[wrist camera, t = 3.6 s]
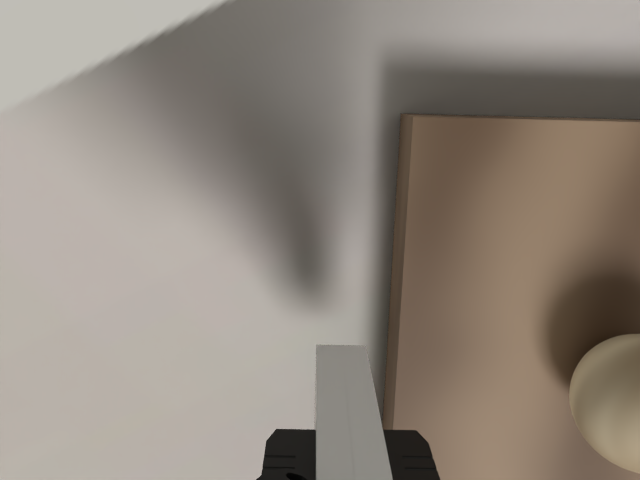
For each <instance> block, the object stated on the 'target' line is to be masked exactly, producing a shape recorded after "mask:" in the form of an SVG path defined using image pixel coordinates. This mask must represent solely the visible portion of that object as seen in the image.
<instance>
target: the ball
mask: <svg viewBox="0 0 640 480" xmlns="http://www.w3.org/2000/svg"><path fill="white" fill-rule="evenodd" d="M569 399H570V407H571V412H572V415H573V418H574V420H575V423H576V425H577V427H578V429H579V431H580V432H581V434H582V435H583V437H584V438H585V440H586V441H587V442H588V443H589V444H590V446H591V447H592V448H593V449H594V450H595V451H597V452H598V453H599V454H600V455H601V456H603V457H604V458H605V459H607V460H608V461H610V462H611V463H613V464H615V465H617V466H619V467H621V468H623V469H626V470H629V471H632V472H635V473H639V474H640V334H626V335H620V336H616V337H613V338H610V339H608V340H605V341H603V342H601V343H599V344H598V345H596V346H595V347H593V348H592V349H591V350H589V351H588V352H587V353H586V354H585V355H584V357H583V358H582V359H581V360H580V362H579V363H578V365H577V367H576V369H575V370H574V373H573V376H572V379H571V383H570V391H569Z"/></svg>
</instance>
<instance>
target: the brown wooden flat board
mask: <svg viewBox="0 0 640 480" xmlns="http://www.w3.org/2000/svg"><path fill="white" fill-rule="evenodd" d="M626 334H640V120H634V119H595V118H555V117H516V116H477V115H438V114H401V119H400V136H399V153H398V170H397V187H396V204H395V221H394V238H393V255H392V272H391V288H390V305H389V322H388V339H387V356H386V373H385V390H384V407H383V424H382V428H383V430H417V431H418V432H419V433H420V435H421V436H422V437H423V438H424V439H425V440H426V441H427V442H428V443H429V446H430V449H431V452H432V455H433V459H434V462H435V465H436V468H437V471H438V474H439V477H440V480H640V474H639V473H635V472H632V471H629V470H626V469H623V468H621V467H619V466H617V465H615V464H613V463H611V462H610V461H608V460H607V459H605V458H604V457H603V456H601V455H600V454H599V453H598V452H597V451H595V450H594V449H593V448H592V447H591V446H590V444H589V443H588V442H587V441H586V440H585V438H584V437H583V435H582V434H581V432H580V431H579V429H578V427H577V425H576V423H575V420H574V418H573V415H572V412H571V407H570V399H569V391H570V383H571V379H572V376H573V373H574V370H575V369H576V367H577V365H578V363H579V362H580V360H581V359H582V358H583V357H584V355H585V354H586V353H587V352H588V351H589V350H591V349H592V348H593V347H595V346H596V345H598V344H599V343H601V342H603V341H605V340H608V339H610V338H613V337H616V336H620V335H626Z"/></svg>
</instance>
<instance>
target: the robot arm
mask: <svg viewBox="0 0 640 480" xmlns="http://www.w3.org/2000/svg"><path fill="white" fill-rule="evenodd" d="M256 480H440V477H439V474H438V471H437V468H436V465H435V462H434V459H433V455H432V452H431V449H430V446H429V443H428V442H427V441H426V440H425V439H424V438H423V437H422V436H421V435H420V433H419V432H418V431H417V430H383V428H382V423H381V418H380V413H379V408H378V403H377V398H376V393H375V387H374V382H373V377H372V372H371V367H370V362H369V357H368V352H367V347H366V346H350V345H316V381H315V420H314V430H300V429H276V430H275V431H274V433H273V434H272V435H271V436H270V437H269V439H268V440H267V441H266V447H265V454H264V461H263V470H262V475H261V476H260V477H259V478H258V479H256Z"/></svg>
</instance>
